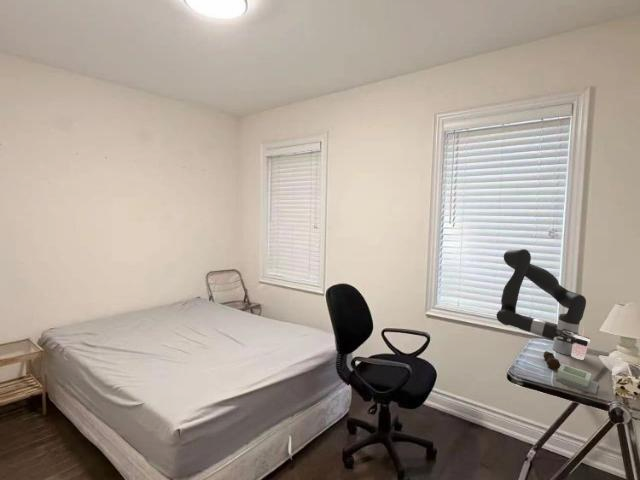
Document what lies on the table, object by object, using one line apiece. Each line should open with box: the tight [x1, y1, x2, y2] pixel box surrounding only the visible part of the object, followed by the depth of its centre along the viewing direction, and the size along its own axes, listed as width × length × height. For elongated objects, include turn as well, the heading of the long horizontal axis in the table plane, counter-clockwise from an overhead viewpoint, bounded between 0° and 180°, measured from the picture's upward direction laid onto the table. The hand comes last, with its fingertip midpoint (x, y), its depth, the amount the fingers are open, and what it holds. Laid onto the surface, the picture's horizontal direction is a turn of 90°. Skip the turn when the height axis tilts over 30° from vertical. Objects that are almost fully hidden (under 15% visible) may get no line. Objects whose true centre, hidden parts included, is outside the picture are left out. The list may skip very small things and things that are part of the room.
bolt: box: [542, 350, 561, 371], centre depth 169 cm, size 6×5×15 cm
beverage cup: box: [570, 326, 591, 361], centre depth 150 cm, size 6×6×14 cm
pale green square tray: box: [555, 363, 599, 396], centre depth 151 cm, size 14×14×4 cm
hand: (588, 342), depth 148 cm, fingers closed on beverage cup, 6 cm apart
